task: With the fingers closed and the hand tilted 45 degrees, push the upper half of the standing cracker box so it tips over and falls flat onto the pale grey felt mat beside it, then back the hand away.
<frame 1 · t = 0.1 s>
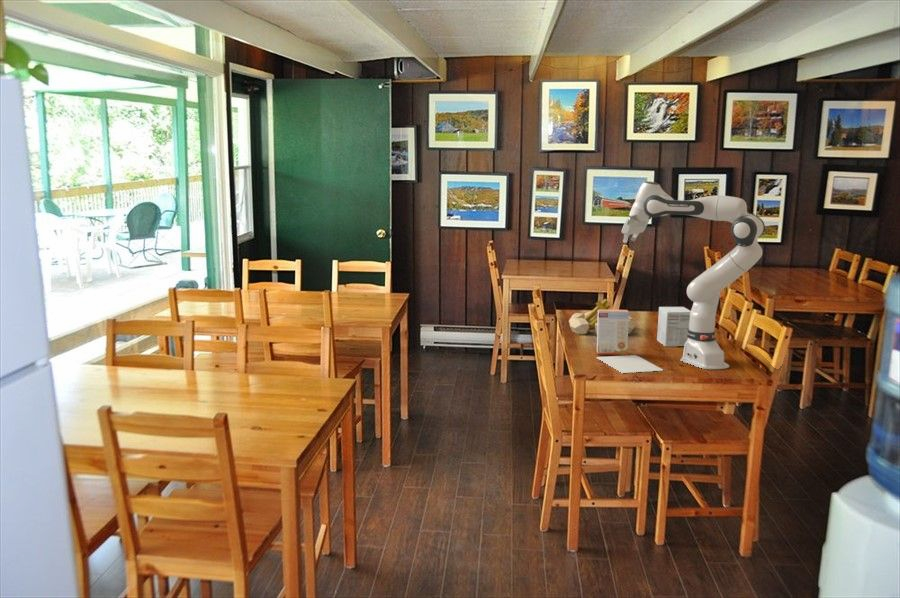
hand: (628, 241, 363), 52 cm above the table, tool tilted 20°, fingers open, 8 cm apart
supplement box: (673, 343, 382), on the table
cracker box: (611, 354, 360), on the table, touching felt mat
campfire: (600, 331, 408), on the table
felt mat: (629, 364, 344), on the table
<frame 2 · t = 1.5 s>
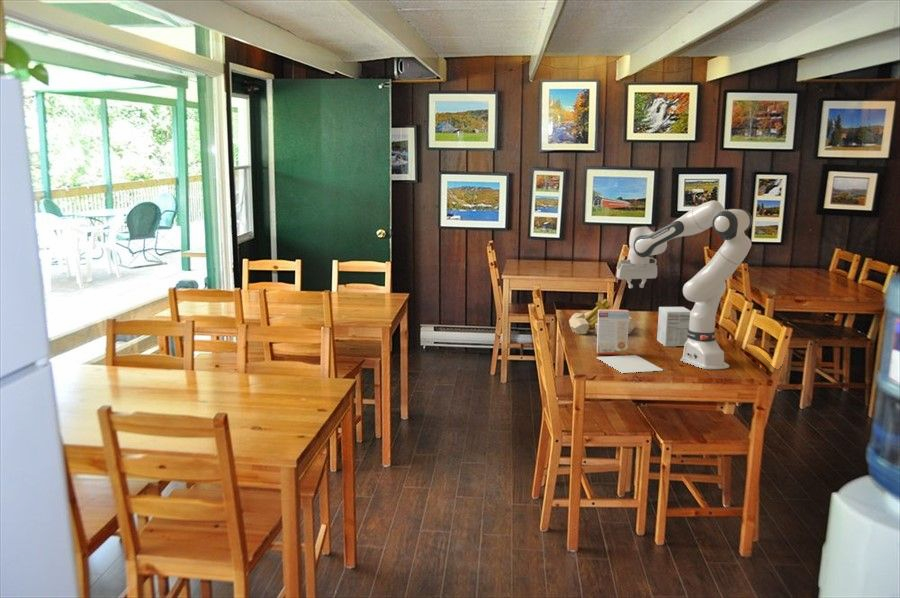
hand: (636, 287, 370), 29 cm above the table, tool pointing down, fingers open, 4 cm apart
nothing on the table moved.
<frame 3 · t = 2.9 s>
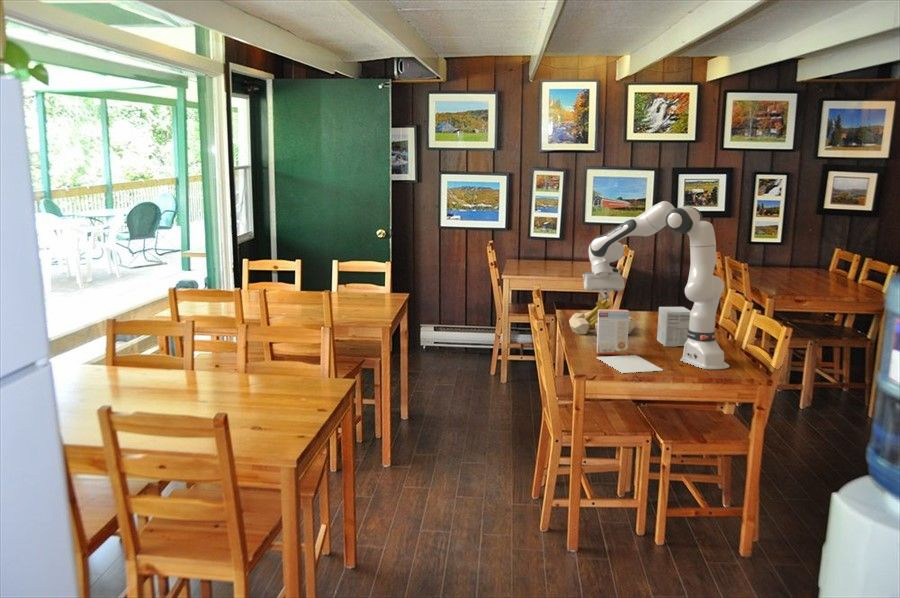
hand: (606, 298, 370), 24 cm above the table, tool tilted 35°, fingers closed
nothing on the table moved.
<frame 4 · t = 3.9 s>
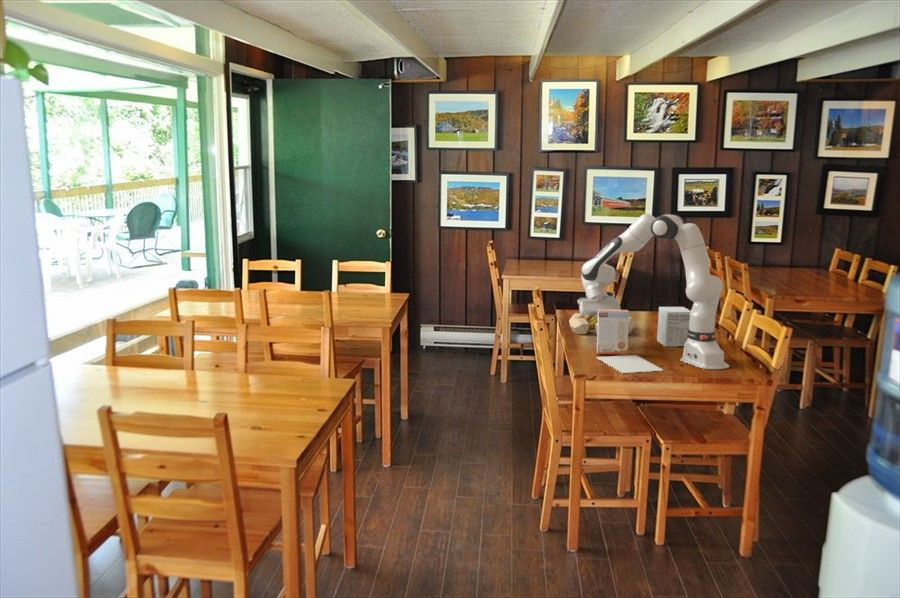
hand: (603, 321, 367), 14 cm above the table, tool tilted 45°, fingers closed
nothing on the table moved.
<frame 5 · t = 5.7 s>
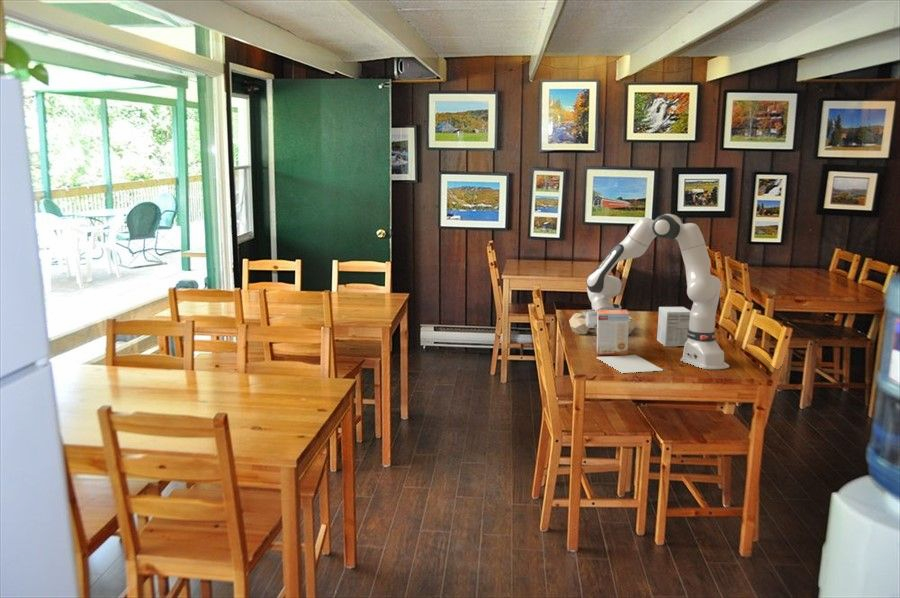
hand: (610, 333, 361), 9 cm above the table, tool tilted 45°, fingers closed
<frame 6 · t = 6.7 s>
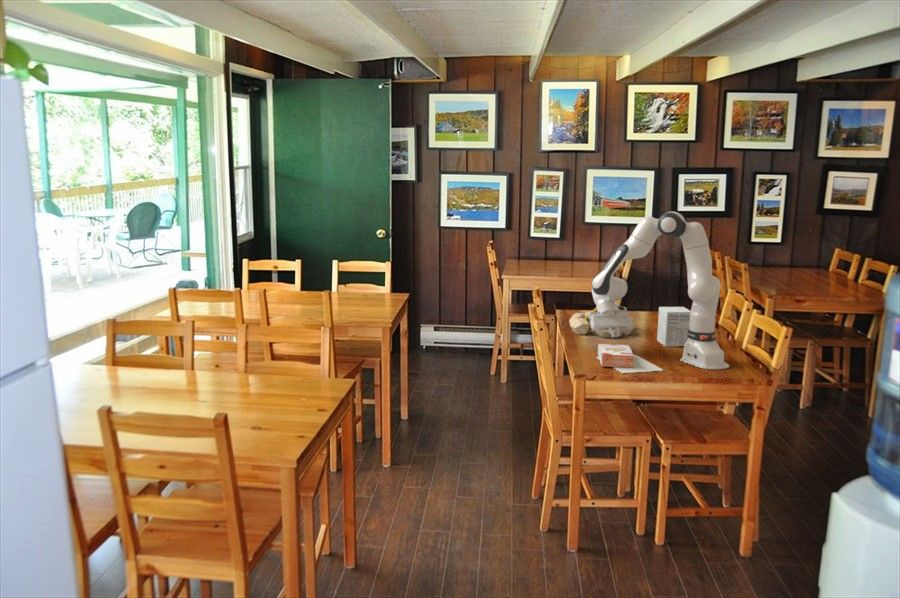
hand: (615, 336, 356), 9 cm above the table, tool tilted 45°, fingers closed
cracker box: (612, 348, 357), point 3 cm above the table, touching felt mat
everything else where it was.
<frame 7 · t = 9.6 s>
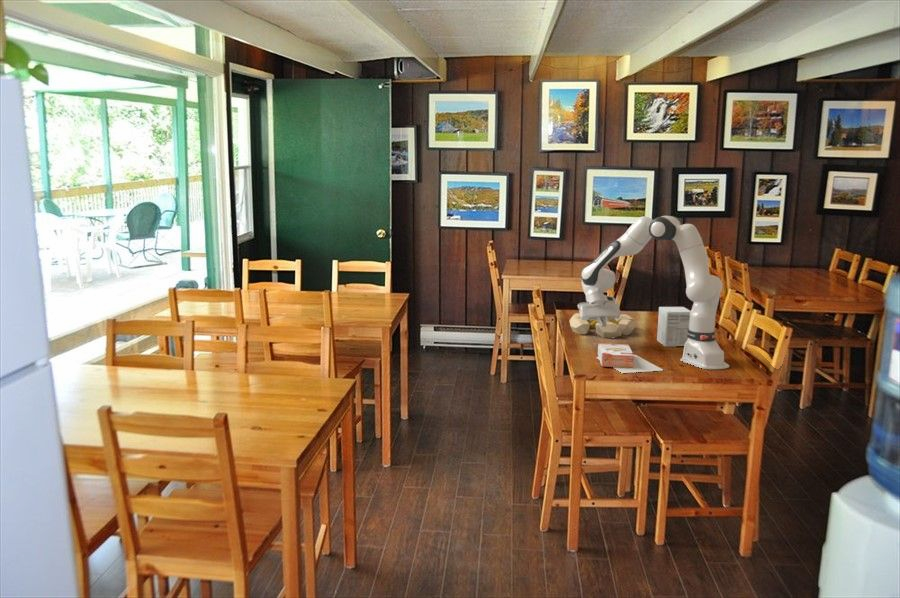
hand: (604, 326, 367), 12 cm above the table, tool tilted 45°, fingers closed
nothing on the table moved.
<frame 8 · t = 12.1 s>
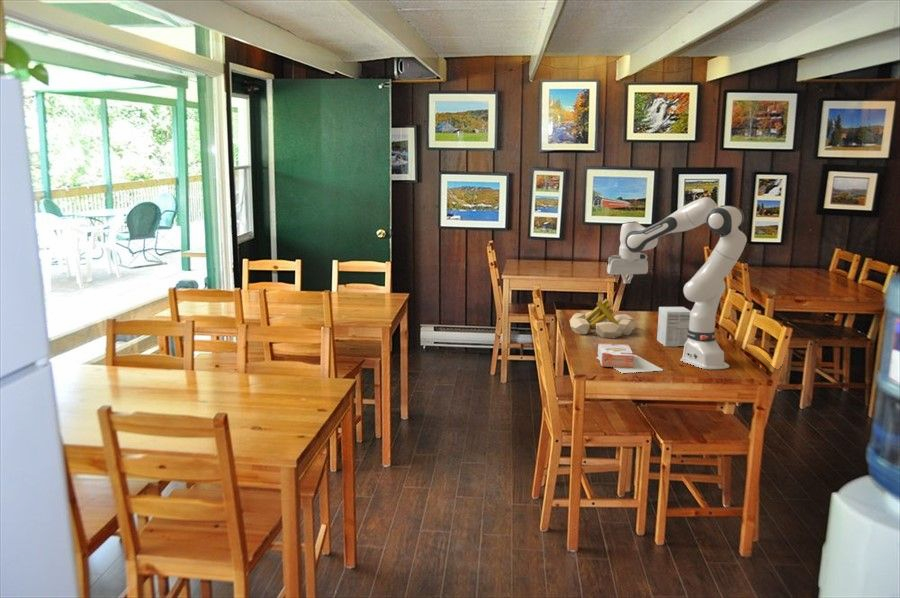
hand: (626, 283, 371), 31 cm above the table, tool pointing down, fingers closed
nothing on the table moved.
at the end: cracker box tilted 91°; cracker box inside the target area (8.5 cm from its centre), point 3.5 cm above the table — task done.
